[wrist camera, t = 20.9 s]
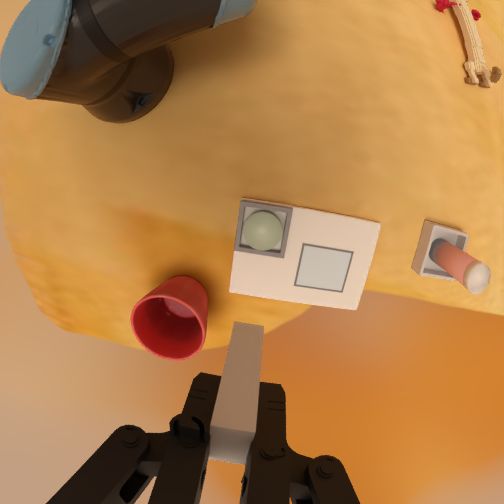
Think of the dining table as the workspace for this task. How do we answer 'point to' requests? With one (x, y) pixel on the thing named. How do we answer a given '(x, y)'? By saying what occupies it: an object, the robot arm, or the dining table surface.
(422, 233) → the tray
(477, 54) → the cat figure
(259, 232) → the button
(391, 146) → the dining table surface
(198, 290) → the flower pot
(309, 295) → the board
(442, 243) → the tumbler
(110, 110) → the robot arm
